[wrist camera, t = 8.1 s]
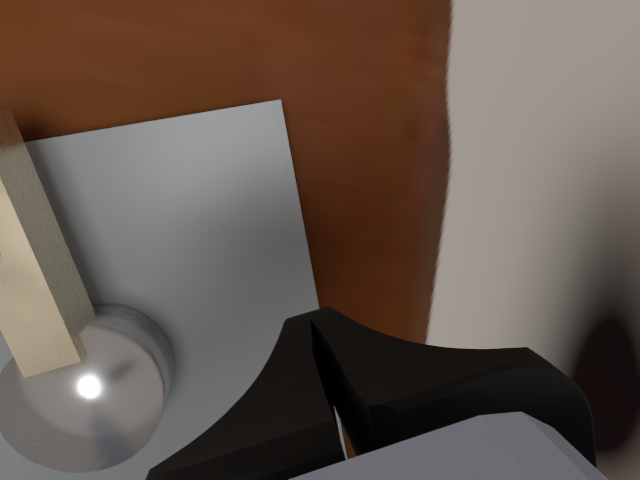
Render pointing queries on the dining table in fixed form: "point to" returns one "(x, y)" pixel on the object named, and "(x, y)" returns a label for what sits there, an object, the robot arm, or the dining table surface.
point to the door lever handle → (67, 340)
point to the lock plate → (183, 254)
